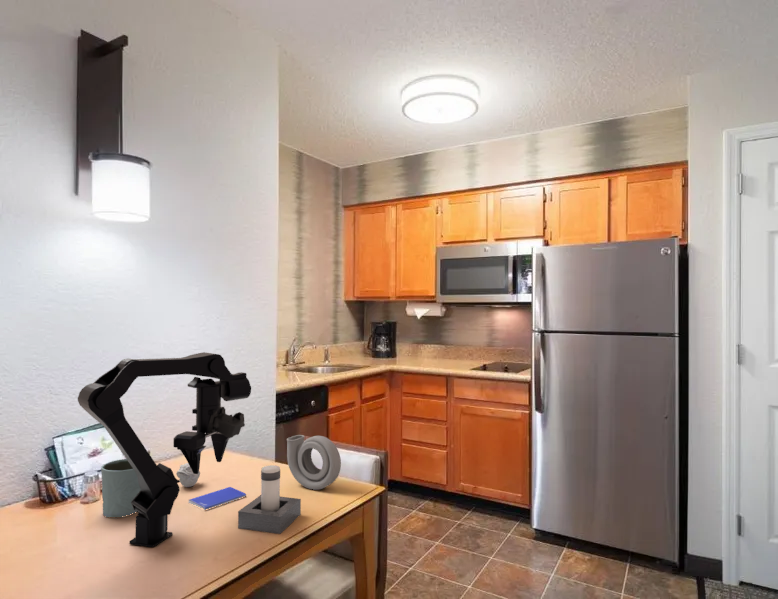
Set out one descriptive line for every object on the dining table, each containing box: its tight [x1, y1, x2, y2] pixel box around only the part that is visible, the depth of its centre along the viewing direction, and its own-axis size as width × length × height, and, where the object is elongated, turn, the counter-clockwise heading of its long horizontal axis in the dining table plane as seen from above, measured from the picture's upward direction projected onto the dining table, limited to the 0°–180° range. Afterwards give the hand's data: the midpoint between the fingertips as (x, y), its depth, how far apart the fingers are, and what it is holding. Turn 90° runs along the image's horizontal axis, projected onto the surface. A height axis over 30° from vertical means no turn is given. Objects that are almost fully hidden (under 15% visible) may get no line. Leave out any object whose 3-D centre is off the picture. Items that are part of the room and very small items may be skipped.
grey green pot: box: [100, 458, 141, 518], centre depth 127 cm, size 10×10×12 cm
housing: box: [237, 494, 302, 535], centre depth 122 cm, size 11×11×4 cm
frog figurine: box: [176, 462, 201, 488], centre depth 144 cm, size 6×7×7 cm
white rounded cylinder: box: [260, 464, 281, 512], centre depth 122 cm, size 5×5×13 cm
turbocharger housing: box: [286, 434, 342, 491], centre depth 145 cm, size 17×6×15 cm, turn 62°
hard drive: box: [188, 486, 247, 510], centre depth 135 cm, size 2×8×12 cm
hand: (207, 467), depth 122 cm, fingers open, 9 cm apart
